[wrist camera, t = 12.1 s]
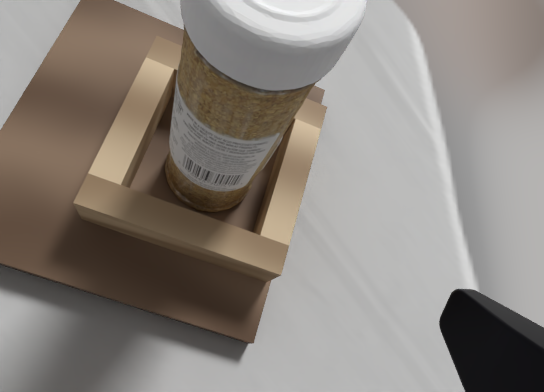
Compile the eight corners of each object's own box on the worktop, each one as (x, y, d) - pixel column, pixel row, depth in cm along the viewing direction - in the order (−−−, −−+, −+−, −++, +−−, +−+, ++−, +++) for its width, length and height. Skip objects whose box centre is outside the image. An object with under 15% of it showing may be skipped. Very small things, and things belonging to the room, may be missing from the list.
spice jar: (267, 164, 23) (401, -33, 11) (220, 232, 22) (321, 84, 9) (196, 116, 23) (254, -140, 11) (143, 180, 21) (142, -42, 9)
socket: (248, 343, 21) (266, 343, 18) (-58, 245, 19) (-99, 225, 16) (318, 98, 27) (342, 65, 24) (89, 2, 25) (81, -49, 22)
